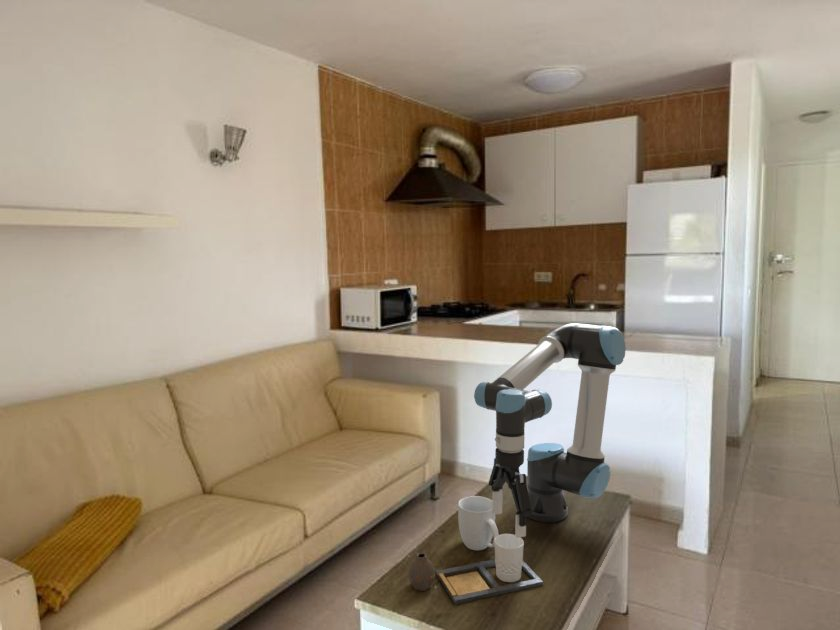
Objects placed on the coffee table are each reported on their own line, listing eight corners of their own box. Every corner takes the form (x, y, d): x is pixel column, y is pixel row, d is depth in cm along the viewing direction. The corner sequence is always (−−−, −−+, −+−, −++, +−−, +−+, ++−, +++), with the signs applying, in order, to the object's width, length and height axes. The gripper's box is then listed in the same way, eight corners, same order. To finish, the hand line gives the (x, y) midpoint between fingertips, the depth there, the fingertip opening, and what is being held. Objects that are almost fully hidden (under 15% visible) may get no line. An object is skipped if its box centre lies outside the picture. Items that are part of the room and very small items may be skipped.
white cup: (488, 575, 156) (488, 541, 155) (505, 564, 161) (506, 530, 160) (511, 587, 150) (512, 551, 149) (528, 575, 156) (529, 540, 154)
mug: (511, 553, 167) (511, 510, 165) (482, 565, 161) (482, 521, 159) (478, 532, 179) (479, 492, 178) (450, 542, 173) (450, 501, 172)
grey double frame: (517, 557, 164) (517, 554, 164) (542, 585, 151) (542, 580, 151) (436, 574, 157) (436, 570, 156) (455, 604, 143) (455, 599, 143)
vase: (412, 596, 147) (412, 564, 146) (405, 581, 153) (405, 550, 152) (438, 591, 149) (438, 560, 148) (430, 576, 155) (430, 546, 154)
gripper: (477, 435, 162) (476, 506, 164) (519, 466, 138) (517, 549, 141) (501, 432, 164) (500, 503, 167) (546, 463, 141) (544, 544, 143)
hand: (508, 524), depth 154 cm, fingers open, 13 cm apart
